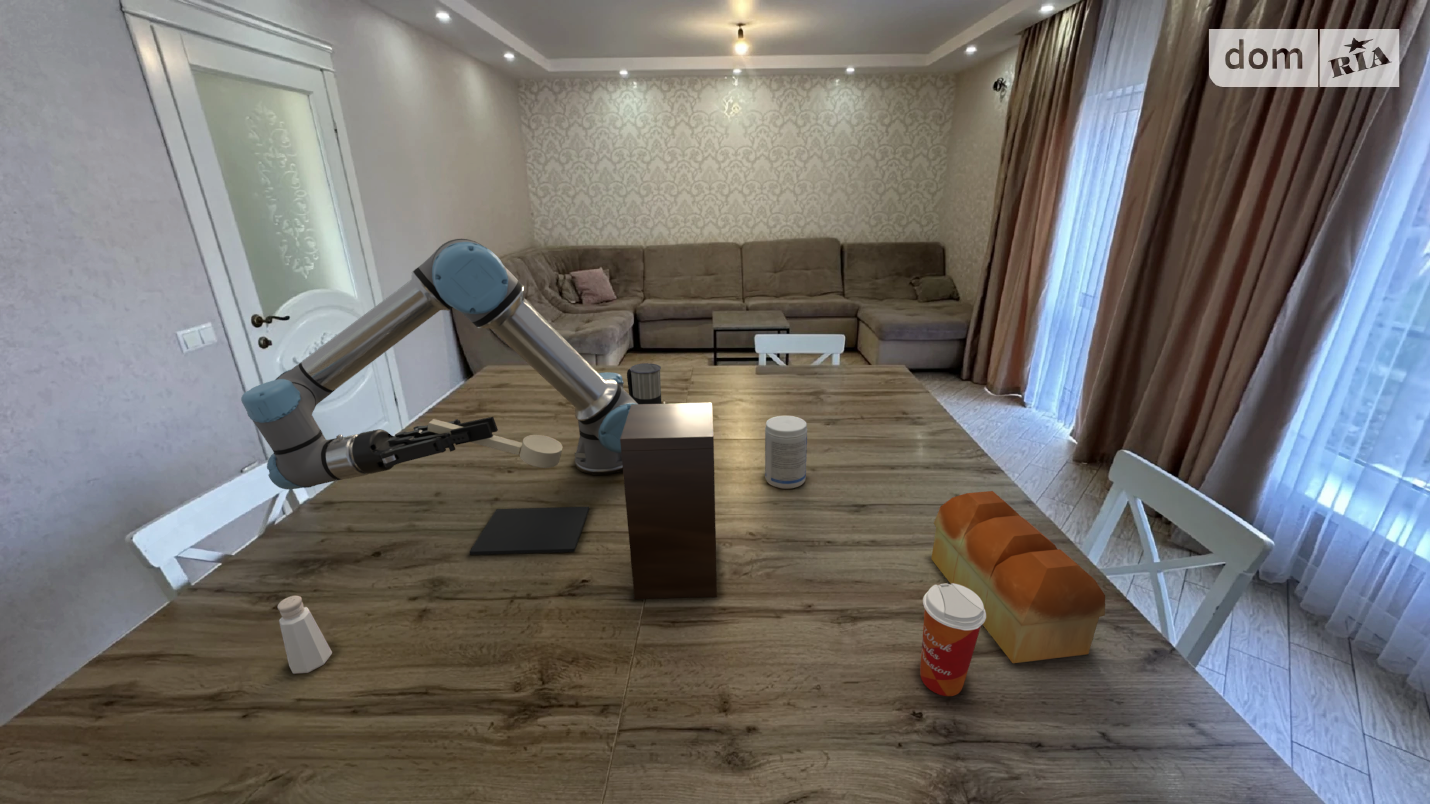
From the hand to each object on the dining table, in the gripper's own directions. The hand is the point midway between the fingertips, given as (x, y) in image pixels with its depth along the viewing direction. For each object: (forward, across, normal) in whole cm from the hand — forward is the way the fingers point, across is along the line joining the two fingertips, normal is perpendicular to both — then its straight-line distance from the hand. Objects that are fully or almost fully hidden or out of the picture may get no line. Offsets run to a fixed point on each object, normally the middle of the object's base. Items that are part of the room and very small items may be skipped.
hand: (492, 426), depth 98 cm
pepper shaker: (-27, -25, +22) cm, 43 cm away
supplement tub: (+51, +23, +35) cm, 66 cm away
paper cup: (+63, -34, +39) cm, 82 cm away
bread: (+79, -20, +42) cm, 92 cm away
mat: (-2, +6, +26) cm, 27 cm away
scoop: (-1, 0, +4) cm, 4 cm away
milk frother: (+13, +66, +26) cm, 73 cm away
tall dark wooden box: (+27, -8, +32) cm, 42 cm away
